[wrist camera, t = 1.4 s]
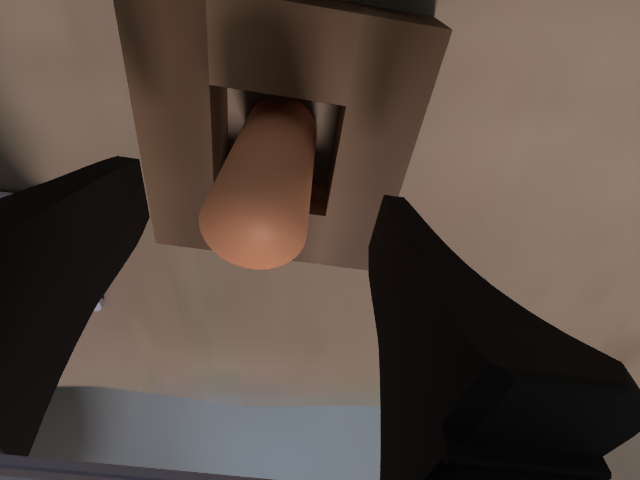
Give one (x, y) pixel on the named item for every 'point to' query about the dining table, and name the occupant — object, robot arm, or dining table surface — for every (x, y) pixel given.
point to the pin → (264, 188)
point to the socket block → (283, 80)
